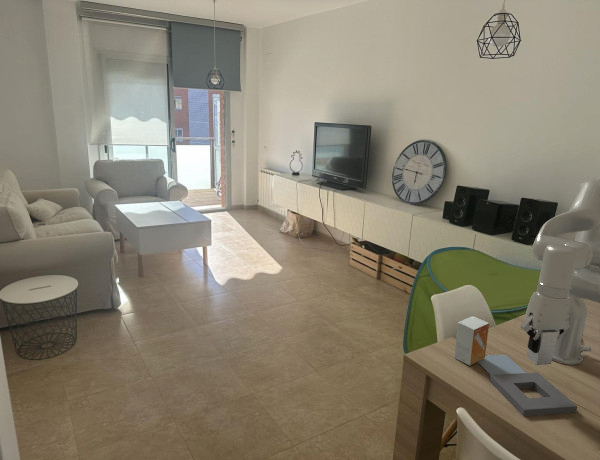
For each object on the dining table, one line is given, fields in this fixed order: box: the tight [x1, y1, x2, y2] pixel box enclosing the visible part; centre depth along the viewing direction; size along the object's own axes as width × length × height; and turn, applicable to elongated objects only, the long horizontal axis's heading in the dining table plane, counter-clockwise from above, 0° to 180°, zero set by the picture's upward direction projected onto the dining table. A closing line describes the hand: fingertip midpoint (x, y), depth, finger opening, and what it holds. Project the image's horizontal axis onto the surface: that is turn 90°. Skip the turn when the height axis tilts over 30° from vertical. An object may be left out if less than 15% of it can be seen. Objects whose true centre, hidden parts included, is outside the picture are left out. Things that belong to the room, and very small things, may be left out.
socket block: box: [488, 372, 578, 417], centre depth 124 cm, size 16×16×2 cm
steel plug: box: [525, 330, 558, 366], centre depth 121 cm, size 4×4×10 cm
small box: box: [453, 315, 490, 366], centre depth 141 cm, size 8×6×13 cm
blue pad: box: [477, 354, 527, 376], centre depth 139 cm, size 12×12×1 cm
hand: (540, 349), depth 121 cm, fingers closed on steel plug, 4 cm apart
